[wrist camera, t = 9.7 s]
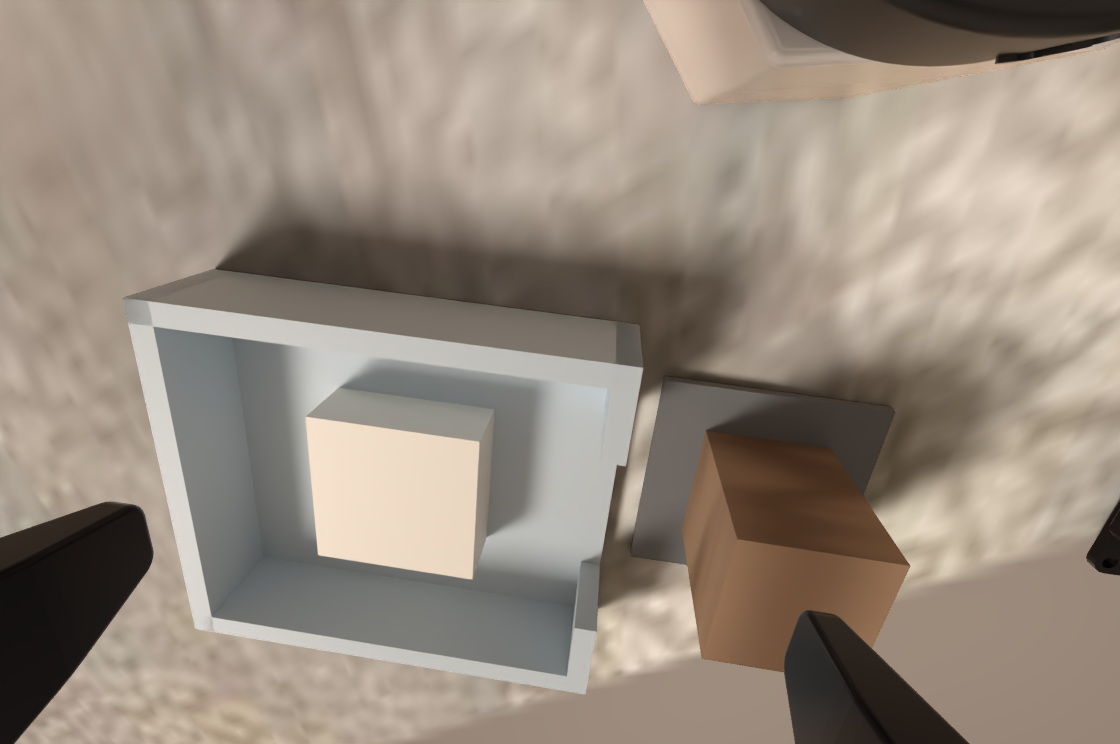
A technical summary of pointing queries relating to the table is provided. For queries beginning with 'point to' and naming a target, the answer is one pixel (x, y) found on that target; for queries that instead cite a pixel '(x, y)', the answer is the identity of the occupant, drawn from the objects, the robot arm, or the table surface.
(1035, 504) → the table surface
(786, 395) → the rubber mat
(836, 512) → the walnut block
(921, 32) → the jar
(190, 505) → the access box
